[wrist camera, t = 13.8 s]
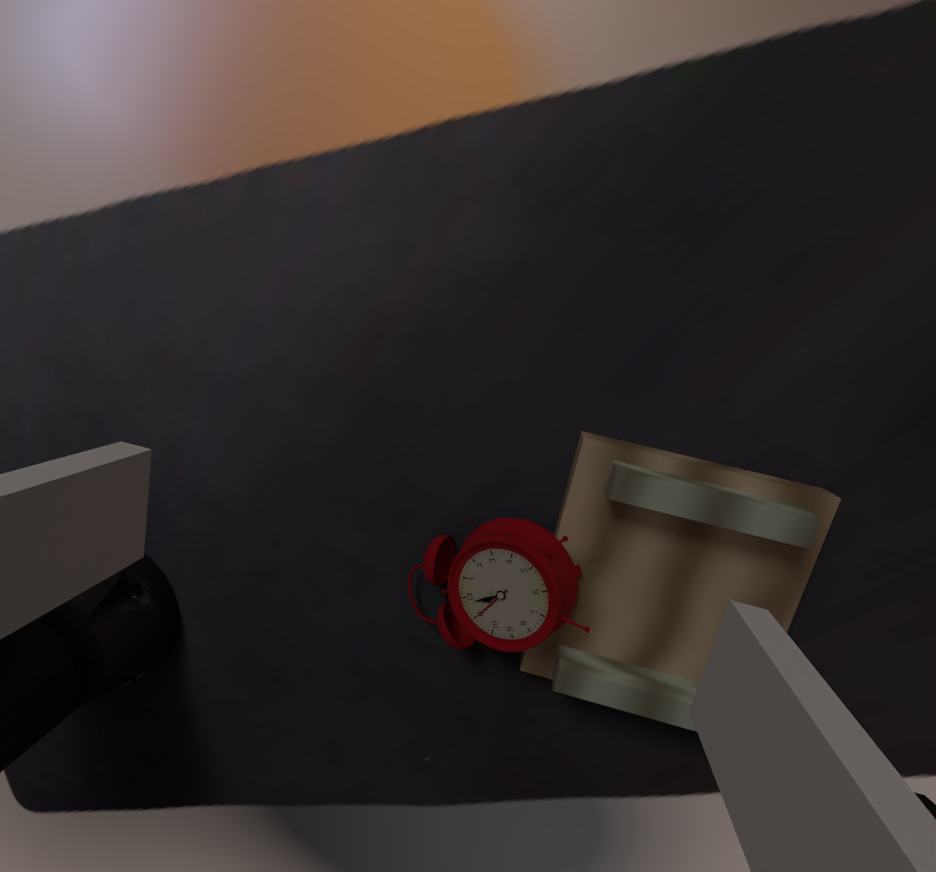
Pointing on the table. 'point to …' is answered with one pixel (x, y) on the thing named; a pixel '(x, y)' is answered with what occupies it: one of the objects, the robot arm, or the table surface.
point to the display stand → (670, 570)
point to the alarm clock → (502, 585)
